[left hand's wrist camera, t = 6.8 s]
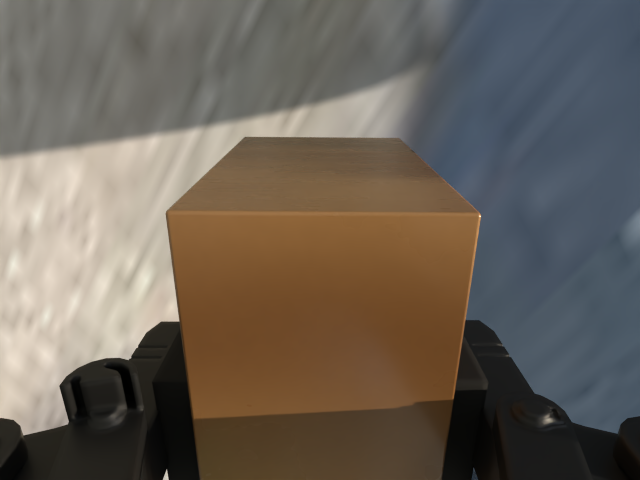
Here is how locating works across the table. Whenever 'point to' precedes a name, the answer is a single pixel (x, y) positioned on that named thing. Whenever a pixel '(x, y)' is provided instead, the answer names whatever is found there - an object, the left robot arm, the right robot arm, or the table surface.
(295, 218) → the plank
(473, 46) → the table surface
